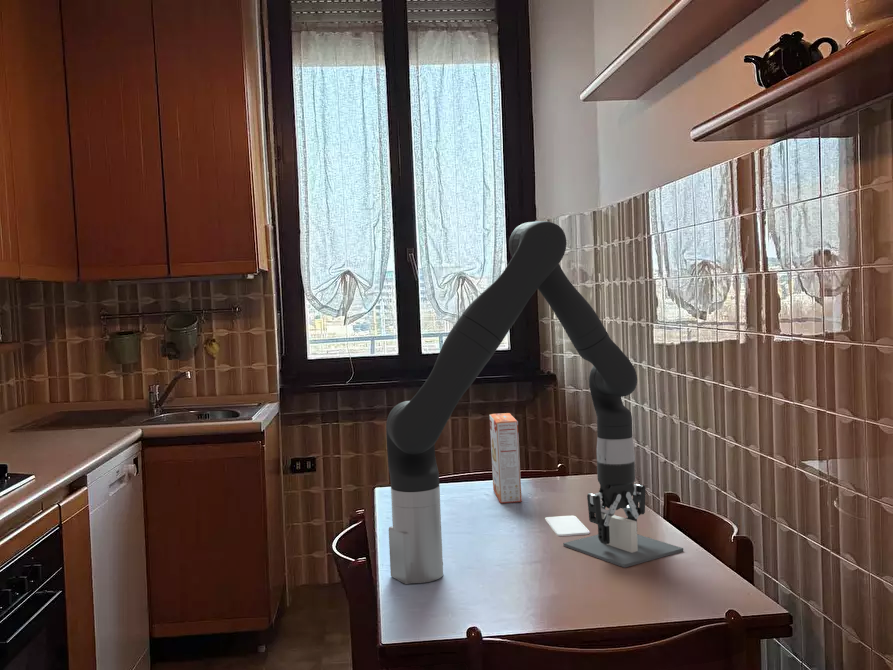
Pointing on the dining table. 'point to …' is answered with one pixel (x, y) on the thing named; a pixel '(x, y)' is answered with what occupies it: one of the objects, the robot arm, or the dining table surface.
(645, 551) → the mat
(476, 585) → the dining table surface
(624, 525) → the card box
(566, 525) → the smartphone
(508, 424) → the cracker box
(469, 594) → the dining table surface
